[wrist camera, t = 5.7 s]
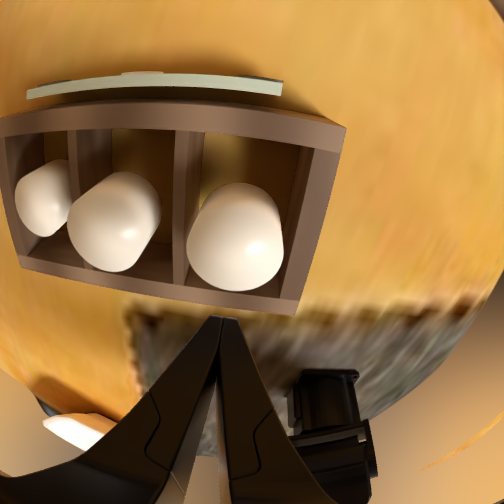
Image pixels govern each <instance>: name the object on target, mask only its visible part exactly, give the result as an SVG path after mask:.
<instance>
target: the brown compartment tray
mask: <svg viewBox="0 0 504 504" xmlns="http://www.w3.org/2000/svg"><path fill="white" fill-rule="evenodd" d="M112 129H164V130H176V134H175V151H174V172H173V212H172V242H173V245H166V244H158V243H151V242H148V243H147V245H146V247H145V248H144V250H143V252H142V253H141V255H140V256H139V258H138V260H137V261H136V262H135V264H134V265H133V266H131V267H130V268H128V269H126V270H123V271H119V272H110V271H105V270H101V269H99V268H97V267H95V266H93V265H91V264H90V263H88V262H87V261H86V260H85V259H84V258H83V257H82V256H81V255H80V254H79V253H78V252H77V250H76V249H75V247H74V246H73V244H72V242H71V240H70V237H69V234H68V231H65V230H57V231H56V232H55V233H54V234H52V235H50V236H47V237H43V236H39V235H36V234H34V233H33V232H31V231H30V230H29V229H28V228H27V227H26V226H25V225H24V223H23V222H22V220H21V218H20V217H19V214H18V212H17V209H16V204H15V190H16V186H17V184H18V182H19V181H20V179H21V178H23V177H24V176H26V175H28V174H29V173H31V172H33V171H34V170H36V169H38V168H40V167H42V166H43V165H45V158H44V145H43V132H51V131H64V130H67V138H68V158H69V171H70V181H71V191H72V199H73V203H74V202H75V201H76V200H77V199H79V198H80V197H81V196H82V195H84V194H85V193H86V192H87V191H89V190H90V189H91V188H93V187H94V186H95V185H97V184H98V183H99V182H101V181H102V180H103V179H105V178H106V177H108V176H109V175H111V174H112ZM205 132H208V133H218V134H227V135H236V136H244V137H252V138H259V139H266V140H272V141H279V142H285V143H290V144H296V145H301V146H300V151H299V157H298V162H297V167H296V172H295V177H294V181H293V186H292V191H291V196H290V201H289V206H288V210H287V215H286V220H285V225H284V229H283V234H282V240H283V260H282V264H281V266H280V268H279V270H278V271H277V273H276V274H275V275H274V276H273V278H272V279H270V280H269V281H268V282H266V283H265V284H263V285H261V286H259V287H257V288H254V289H250V290H245V291H230V290H224V289H221V288H218V287H215V286H213V285H211V284H209V283H208V282H206V281H205V280H203V279H202V278H201V277H200V276H199V275H198V274H197V273H196V272H195V271H194V269H193V268H192V266H191V264H190V262H189V259H188V256H187V249H186V246H187V239H188V236H189V233H190V231H191V229H192V227H193V224H194V222H195V220H196V218H197V216H198V212H199V196H200V181H201V168H202V156H203V145H204V134H205ZM345 133H346V128H345V127H343V126H341V125H340V124H338V123H336V122H334V121H332V120H330V119H328V118H324V117H320V116H315V115H311V114H306V113H300V112H295V111H290V110H284V109H278V108H272V107H265V106H258V105H251V104H242V103H234V102H224V101H212V100H198V99H176V98H126V99H106V100H92V101H81V102H72V103H64V104H56V105H50V106H43V107H37V108H32V109H28V110H25V111H21V112H18V113H15V114H11V115H8V116H5V117H2V118H0V187H1V193H2V198H3V203H4V208H5V212H6V217H7V221H8V225H9V229H10V232H11V236H12V240H13V243H14V247H15V250H16V253H17V256H18V259H19V263H20V266H21V268H25V269H29V270H32V271H36V272H40V273H44V274H49V275H53V276H57V277H61V278H66V279H70V280H74V281H79V282H83V283H88V284H93V285H98V286H102V287H107V288H112V289H117V290H123V291H128V292H133V293H138V294H144V295H150V296H155V297H161V298H167V299H173V300H179V301H186V302H192V303H199V304H206V305H212V306H220V307H227V308H234V309H242V310H250V311H259V312H267V313H276V314H286V315H295V313H296V310H297V307H298V304H299V301H300V298H301V295H302V292H303V289H304V286H305V282H306V279H307V276H308V273H309V269H310V266H311V263H312V260H313V256H314V253H315V249H316V246H317V243H318V239H319V236H320V232H321V228H322V225H323V221H324V218H325V214H326V210H327V207H328V203H329V199H330V195H331V191H332V187H333V184H334V180H335V176H336V171H337V167H338V163H339V159H340V155H341V151H342V146H343V142H344V137H345Z"/></svg>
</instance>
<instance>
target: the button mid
mask: <svg viewBox="0 0 504 504" xmlns="http://www.w3.org/2000/svg"><path fill="white" fill-rule="evenodd" d="M161 218H162V205H161V200H160V197H159V195H158V193H157V191H156V190H155V188H154V187H153V186H152V184H151V183H150V182H149V181H147V180H146V179H145V178H144V177H142V176H140V175H138V174H136V173H132V172H127V171H121V172H116V173H113V174H111V175H109V176H108V177H106V178H105V179H103V180H102V181H101V182H99V183H98V184H97V185H95V186H94V187H93V188H91V189H90V190H89V191H87V192H86V193H85V194H84V195H82V196H81V197H80V198H79V199H77V200H76V201H75V202H74V203H73V205H72V206H71V208H70V210H69V213H68V217H67V229H68V234H69V237H70V240H71V242H72V244H73V246H74V247H75V249H76V250H77V252H78V253H79V254H80V255H81V256H82V257H83V258H84V259H85V260H86V261H87V262H88V263H90V264H91V265H93V266H95V267H97V268H99V269H101V270H105V271H110V272H119V271H123V270H126V269H128V268H130V267H131V266H133V265H134V264H135V262H136V261H137V260H138V258H139V256H140V255H141V253H142V252H143V250H144V248H145V247H146V245H147V243H148V242H149V240H150V239H151V237H152V236H153V234H154V232H155V231H156V229H157V228H158V226H159V224H160V221H161Z"/></svg>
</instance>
